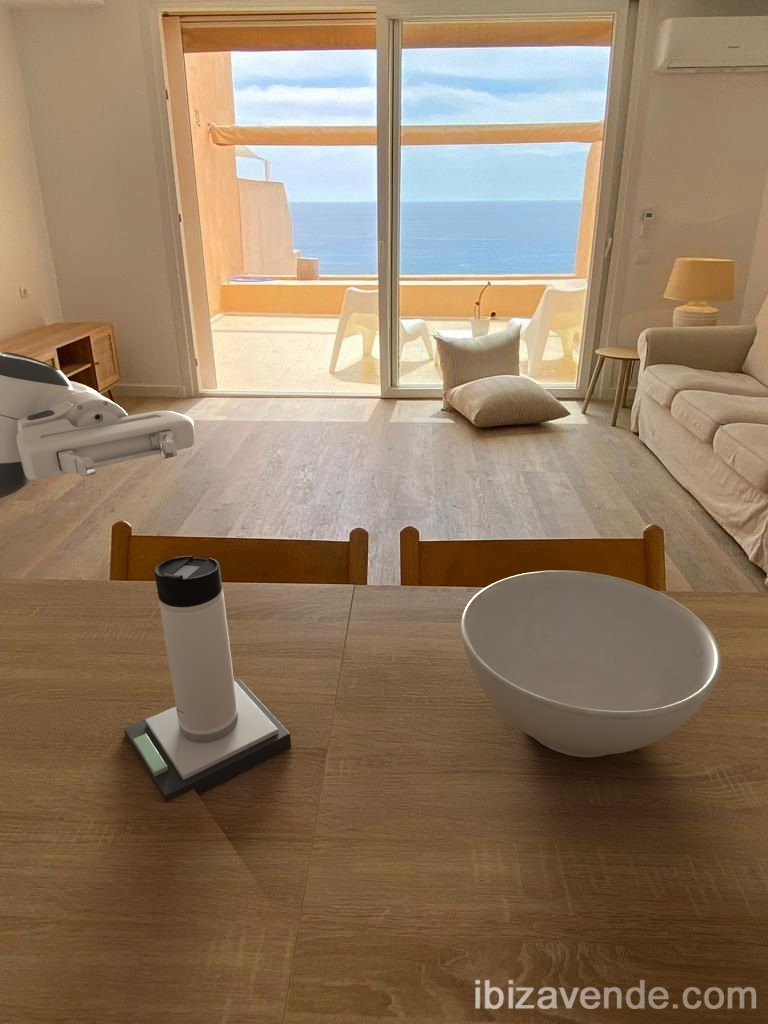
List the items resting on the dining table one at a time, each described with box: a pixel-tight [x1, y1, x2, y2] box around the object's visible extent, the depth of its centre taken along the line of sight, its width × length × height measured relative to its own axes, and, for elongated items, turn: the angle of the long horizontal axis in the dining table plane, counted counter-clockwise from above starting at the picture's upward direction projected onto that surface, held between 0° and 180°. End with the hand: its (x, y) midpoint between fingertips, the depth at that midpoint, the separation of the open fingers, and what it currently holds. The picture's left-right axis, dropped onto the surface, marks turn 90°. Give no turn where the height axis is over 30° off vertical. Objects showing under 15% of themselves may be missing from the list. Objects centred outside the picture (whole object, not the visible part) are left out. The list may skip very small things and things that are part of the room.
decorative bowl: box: [460, 570, 723, 758], centre depth 77 cm, size 27×27×12 cm
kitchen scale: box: [123, 679, 292, 803], centre depth 76 cm, size 14×12×3 cm
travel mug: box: [153, 555, 238, 742], centre depth 71 cm, size 6×7×20 cm
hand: (130, 459), depth 79 cm, fingers open, 8 cm apart
